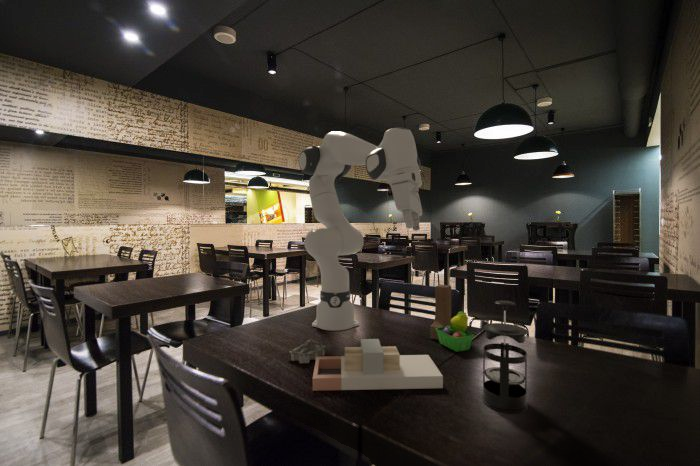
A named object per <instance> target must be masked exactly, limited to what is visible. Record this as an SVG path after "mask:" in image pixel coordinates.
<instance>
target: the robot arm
mask: <svg viewBox="0 0 700 466" xmlns="http://www.w3.org/2000/svg"><path fill="white" fill-rule="evenodd" d="M298 166H299V169H300V171H301V172H302V173H303V174H305V175H309V176H311V177H310V179H309V181H308V189H309V191H308V192H309V197H310V201H311V206H312V211H313V215H314V218H315V220H316V221H317V222H318V223H320V224H322V225H323V226H324V228H322V227H321V228H316V229H313V230H310V231H308V232H307V234H306V235H305V238H304V248H305V251H306V252H307V253H308V254H309V255H310V256H311V257H312V258H313V259H314V260H315V262H316V263H317V265H318V268H319V271H320V281H321V283H320V284H321V285H320V287H321V290H320V293H319V296H320V302H319V303H317V305H316V308H315V309H316V314H315V315H316V318H315V320H314V321H313V322H312V323H311V327H313V328H314V327H315V328H318V329H321V330H324V331H345V330H348V329H351V328H355V327H359V326H360V322H359V321H358V320H357V319H356V318H355V305H354V304H353V303H352V301H351V290H350V272H349V270H348V269H347V268H346V266H343V265H342V264H341V263H340V260H339V256H350V255H353V254H356V253H359V252H361V250H362V249H363V247H364V243H365V242H364V236H363V234H362V232H361V231H360V230H358V229H357V228H355V227H354V226H353V225H352V224H351V223H350V222H349V221H348V219H347V217H346V216H345V214H344V212H343V211H342V207H341V205H340V202H339V198H338V194H337V191H336V188H335V180H337V181H341V180H342V179H343V177H344V176H346V175H347V174H348V173H349V172H350V170H351V168H352V166H365V170H366V171H365V172H366V173H367V175H368V177H369V178H370V179H371V180H374V181H385V182H386V181H387V182H388V185H389V186H390V189H391V192H392V197H393V201H394V205H395V207H396V210H397V211H399V212H401V213H402V217H403V220H404V222H405V228H406V229H412V230H413V231H415V232H417V231H419V230H420V229H421V228H420V217H422V216H423V208H422V203H421V199H420V194H419V188H420V187H422V185H423V181H422V174H421V170H422V169H421V168H422V164H421V159H420V158H419V156H418V151H417V146H416V141H415V137H414V135H413V133H412V131H411V129H409V128H407V127H392V128H389V129H387V130H385V132H384V135H383V138H382V140H381V142H380V143H379V145H376V144H373V143H371V142H368V141H367V140H364V139H362V138H359V137H358V136H355V135H353V134H352V133H351V134H350V133H347V132H344V131H340V130H339V131H334V130H333V131H330V132H328V133H326V134H325V135H324V137H323V140H322V143H321V145H319V146H317V145H316V144H313V145H312V146H310V147H306V148H304V149H303V150H302V151H301V152H300V153H299V156H298Z"/></svg>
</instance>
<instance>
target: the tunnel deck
mask: <svg viewBox="0 0 700 466" xmlns="http://www.w3.org/2000/svg"><path fill="white" fill-rule="evenodd" d="M360 347H362V352H363V371H345V355H342V356H341V355H340V356H339V355H338V356H337V355H334V356H329V355H328V356H325V355H324V356H317V357H316V360H315V363H314V368H313V373H312V392H314V391H317V392H318V391H358V390H359V391H361V390H370V391H371V390H410V389H419V390H420V389H444V376H443V374H442V373H441V371H440V369H439V368H438V366H437V365H436V364H435V362H434V361H433V359H432V358H431V357H430V355H429V354H402V355H401V354H400V370H383V350H382V348H381V347H382V345H381V341H380V340H379V338H360Z"/></svg>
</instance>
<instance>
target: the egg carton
mask: <svg viewBox="0 0 700 466" xmlns="http://www.w3.org/2000/svg"><path fill="white" fill-rule="evenodd" d="M325 348H327V345H322V343H320V344H318V342H317V341H315V340H313V338H310V339H309V338H308V339H306V341H304V343H302V344H300V345H299V346H298V347H295V348H294V349H292V350H289V351H288V352H289V354H291V355H290V360H291V361H292V362H295V361H298V363H299V364H309V363H310V361H311V360H315V361H316V357H323V356H325V355H326V354H325V352H326V351H325Z"/></svg>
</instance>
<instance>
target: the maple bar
mask: <svg viewBox="0 0 700 466" xmlns="http://www.w3.org/2000/svg"><path fill="white" fill-rule="evenodd" d="M381 348H382V350H383V370H400V355H401V354H400V352H399V350H398V348H397V346H390V345H389V346H381ZM344 356H345V371H363V352H362V347H361V346H345V347H344Z"/></svg>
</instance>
